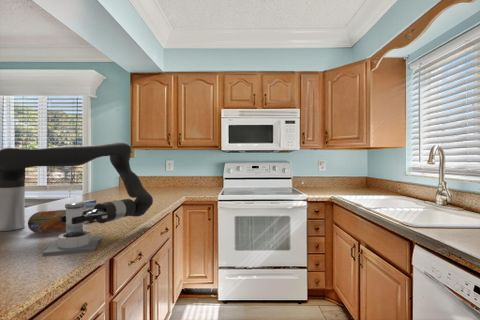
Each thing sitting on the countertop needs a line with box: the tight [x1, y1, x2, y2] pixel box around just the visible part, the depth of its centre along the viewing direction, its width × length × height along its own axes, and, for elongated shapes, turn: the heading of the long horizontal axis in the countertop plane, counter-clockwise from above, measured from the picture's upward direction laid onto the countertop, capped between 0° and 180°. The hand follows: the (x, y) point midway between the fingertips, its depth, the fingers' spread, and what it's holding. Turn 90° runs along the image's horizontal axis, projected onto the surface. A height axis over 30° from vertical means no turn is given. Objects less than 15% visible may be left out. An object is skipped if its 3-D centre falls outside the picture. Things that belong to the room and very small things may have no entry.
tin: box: [27, 209, 66, 234], centre depth 112 cm, size 15×3×8 cm, turn 118°
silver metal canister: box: [64, 201, 84, 238], centre depth 94 cm, size 5×5×12 cm
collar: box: [42, 230, 101, 257], centre depth 94 cm, size 14×14×4 cm
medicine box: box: [80, 199, 98, 210], centre depth 135 cm, size 8×4×9 cm, turn 168°
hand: (67, 220), depth 91 cm, fingers closed on silver metal canister, 5 cm apart
